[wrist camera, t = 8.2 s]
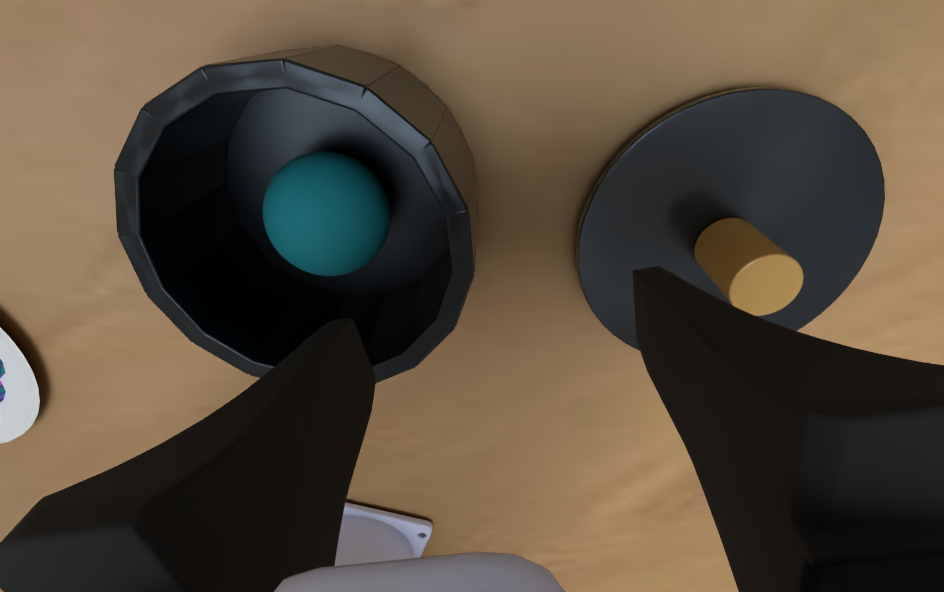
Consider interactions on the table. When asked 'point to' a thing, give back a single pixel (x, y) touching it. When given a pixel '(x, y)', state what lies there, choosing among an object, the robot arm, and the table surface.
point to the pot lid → (735, 207)
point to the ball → (326, 213)
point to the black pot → (242, 194)
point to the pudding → (16, 391)
